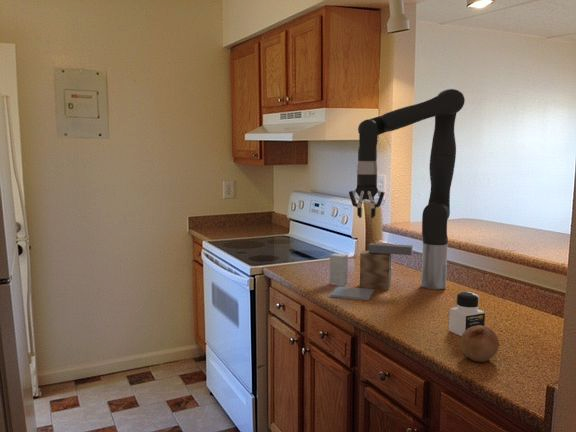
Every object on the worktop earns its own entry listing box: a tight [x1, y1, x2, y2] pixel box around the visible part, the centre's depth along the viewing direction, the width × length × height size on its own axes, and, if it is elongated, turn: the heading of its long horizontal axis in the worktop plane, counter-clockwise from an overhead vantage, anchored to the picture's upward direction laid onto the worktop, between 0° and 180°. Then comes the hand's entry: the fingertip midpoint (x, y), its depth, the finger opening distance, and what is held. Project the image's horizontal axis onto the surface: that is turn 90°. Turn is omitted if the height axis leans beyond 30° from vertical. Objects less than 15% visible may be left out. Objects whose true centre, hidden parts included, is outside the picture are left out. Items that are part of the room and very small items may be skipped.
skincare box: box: [329, 253, 349, 287], centre depth 210 cm, size 6×4×12 cm
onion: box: [459, 325, 500, 363], centre depth 137 cm, size 10×9×10 cm
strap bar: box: [368, 242, 414, 256], centre depth 203 cm, size 16×4×3 cm, turn 72°
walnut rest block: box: [359, 250, 392, 291], centre depth 206 cm, size 11×6×14 cm, turn 72°
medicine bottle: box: [448, 291, 486, 337], centre depth 156 cm, size 7×7×12 cm
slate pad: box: [329, 285, 375, 301], centre depth 197 cm, size 14×12×1 cm
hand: (366, 217), depth 204 cm, fingers open, 4 cm apart
